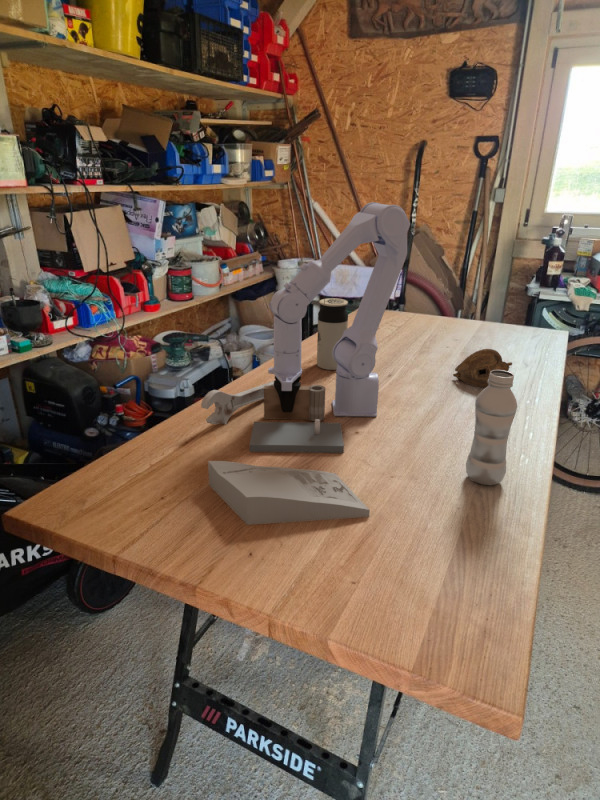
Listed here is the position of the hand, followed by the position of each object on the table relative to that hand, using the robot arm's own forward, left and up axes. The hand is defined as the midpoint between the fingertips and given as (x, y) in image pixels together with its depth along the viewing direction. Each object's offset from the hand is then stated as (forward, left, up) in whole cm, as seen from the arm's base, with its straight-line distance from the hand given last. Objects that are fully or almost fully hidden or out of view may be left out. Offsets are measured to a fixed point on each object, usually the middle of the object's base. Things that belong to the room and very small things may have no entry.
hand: (287, 409), depth 114 cm
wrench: (+9, -5, -3) cm, 10 cm away
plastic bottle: (-35, +24, -2) cm, 43 cm away
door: (-1, 0, -2) cm, 2 cm away
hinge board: (-2, +10, -2) cm, 10 cm away
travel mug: (-11, -34, -2) cm, 36 cm away
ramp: (-1, +31, -3) cm, 31 cm away
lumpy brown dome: (-52, -30, -3) cm, 60 cm away
